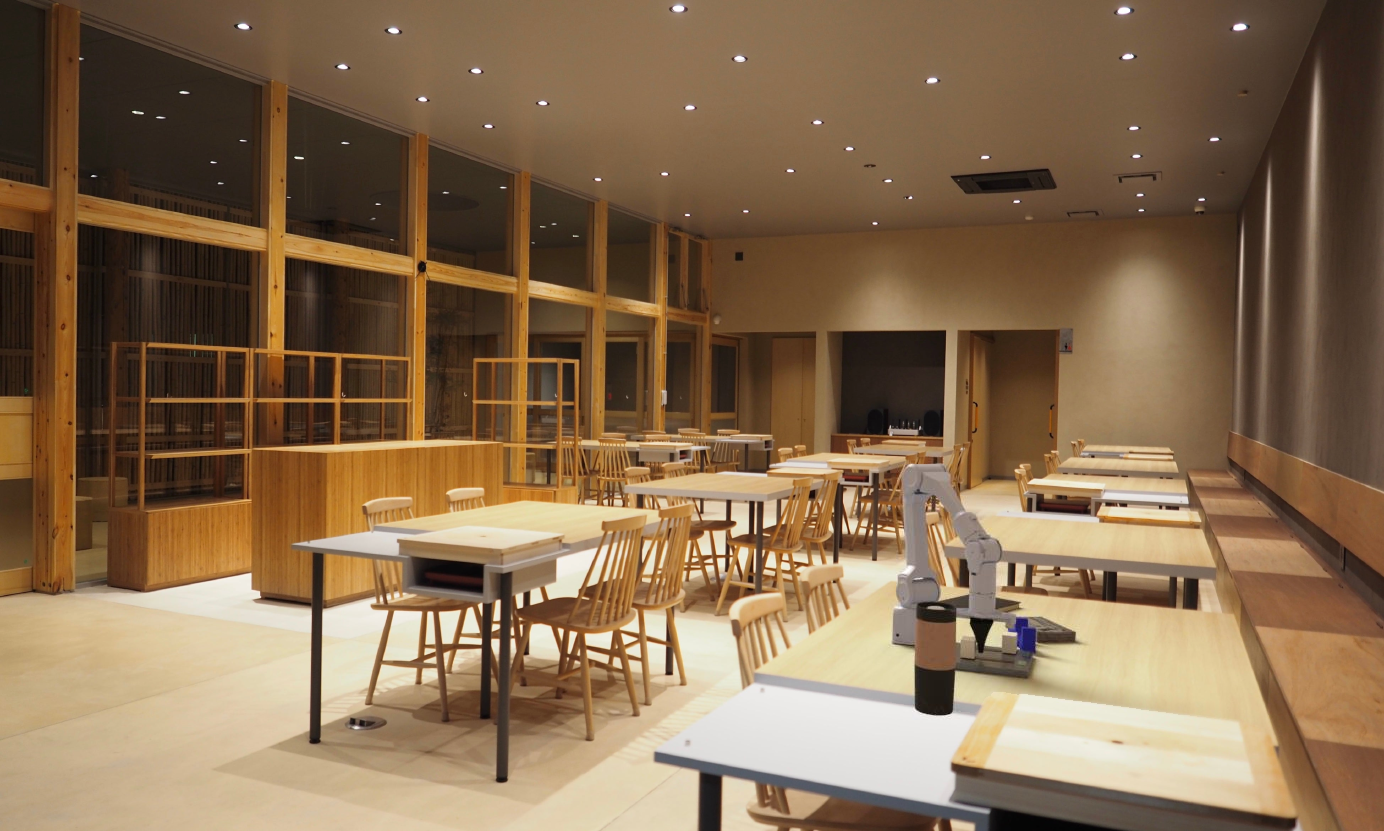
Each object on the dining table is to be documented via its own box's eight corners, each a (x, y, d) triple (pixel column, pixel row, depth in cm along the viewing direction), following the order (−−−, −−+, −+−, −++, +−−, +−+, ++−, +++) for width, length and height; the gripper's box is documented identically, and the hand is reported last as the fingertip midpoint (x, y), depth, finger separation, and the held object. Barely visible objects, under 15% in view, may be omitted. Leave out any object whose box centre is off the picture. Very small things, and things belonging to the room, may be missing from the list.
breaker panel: (941, 667, 216) (942, 660, 215) (953, 648, 233) (953, 641, 233) (1027, 678, 209) (1027, 670, 208) (1032, 657, 226) (1033, 650, 226)
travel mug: (908, 703, 189) (910, 601, 189) (946, 703, 190) (948, 601, 190) (920, 716, 182) (923, 610, 181) (960, 716, 182) (963, 610, 182)
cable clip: (1007, 640, 243) (1008, 616, 242) (1026, 641, 242) (1027, 617, 242) (1015, 652, 231) (1016, 627, 231) (1035, 654, 230) (1036, 628, 230)
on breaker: (1001, 652, 223) (1002, 635, 223) (1003, 648, 227) (1003, 631, 227) (1015, 653, 222) (1015, 636, 222) (1016, 649, 226) (1017, 632, 226)
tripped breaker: (960, 657, 218) (960, 639, 218) (962, 653, 222) (963, 635, 222) (974, 658, 217) (974, 641, 217) (976, 654, 221) (976, 637, 221)
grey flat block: (1040, 627, 259) (1041, 615, 259) (1076, 643, 242) (1077, 631, 242) (1003, 627, 257) (1004, 615, 257) (1036, 644, 240) (1037, 631, 240)
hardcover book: (1020, 609, 282) (1020, 601, 282) (978, 620, 266) (978, 612, 266) (971, 600, 294) (971, 592, 294) (928, 610, 278) (928, 602, 278)
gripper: (946, 592, 217) (945, 652, 218) (1014, 598, 212) (1013, 660, 212) (951, 586, 224) (949, 645, 224) (1017, 592, 218) (1015, 652, 219)
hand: (980, 652), depth 219 cm, fingers closed
